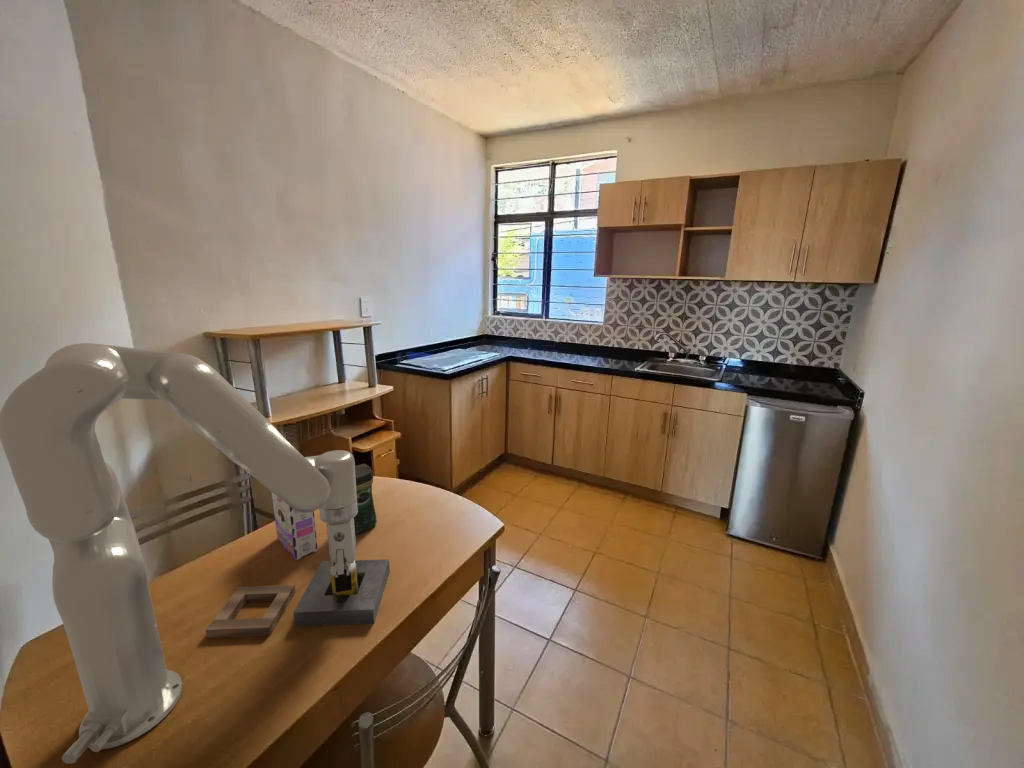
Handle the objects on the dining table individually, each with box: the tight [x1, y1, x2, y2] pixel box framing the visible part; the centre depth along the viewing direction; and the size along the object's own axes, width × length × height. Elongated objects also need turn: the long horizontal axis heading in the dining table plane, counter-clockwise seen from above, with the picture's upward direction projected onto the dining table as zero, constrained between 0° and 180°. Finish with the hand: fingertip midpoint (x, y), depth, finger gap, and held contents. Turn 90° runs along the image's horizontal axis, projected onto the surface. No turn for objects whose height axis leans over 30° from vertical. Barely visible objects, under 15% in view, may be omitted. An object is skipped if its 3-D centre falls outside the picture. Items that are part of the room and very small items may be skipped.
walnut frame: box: [205, 584, 296, 639], centre depth 89 cm, size 12×12×2 cm
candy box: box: [270, 491, 319, 561], centre depth 110 cm, size 14×6×16 cm, turn 47°
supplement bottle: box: [330, 558, 359, 595], centre depth 93 cm, size 5×5×10 cm
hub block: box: [292, 558, 391, 628], centre depth 94 cm, size 16×16×4 cm
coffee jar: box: [354, 463, 378, 535], centre depth 119 cm, size 10×8×19 cm
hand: (344, 580), depth 93 cm, fingers closed on supplement bottle, 5 cm apart
